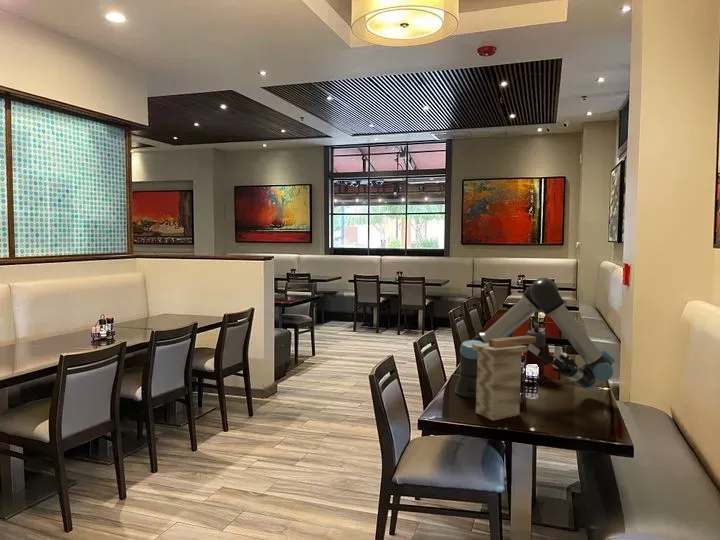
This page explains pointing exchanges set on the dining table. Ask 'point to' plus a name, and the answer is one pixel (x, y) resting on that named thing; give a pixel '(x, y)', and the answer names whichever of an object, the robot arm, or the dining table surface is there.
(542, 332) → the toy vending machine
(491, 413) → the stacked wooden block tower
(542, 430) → the dining table surface
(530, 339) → the strip
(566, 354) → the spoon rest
